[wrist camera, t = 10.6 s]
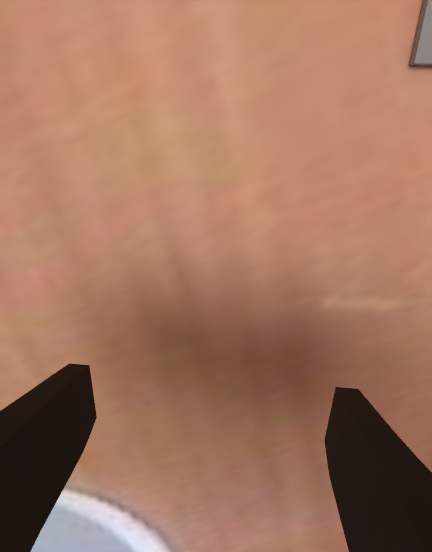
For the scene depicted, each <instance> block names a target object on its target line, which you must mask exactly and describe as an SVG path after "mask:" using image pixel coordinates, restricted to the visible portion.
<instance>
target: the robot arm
mask: <svg viewBox="0 0 432 552" xmlns="http://www.w3.org/2000/svg"><path fill="white" fill-rule="evenodd" d="M96 418H97V417H96V410H95V403H94V396H93V389H92V381H91V374H90V367H89V365H79V364H68V365H67V366H65V367H64V368H62V369H61V370H59V371H58V372H56V373H55V374H53V375H52V376H50V377H49V378H48V379H46V380H45V381H43V382H42V383H40V384H39V385H38V386H36V387H35V388H33V389H32V390H30V391H29V392H28V393H26V394H25V395H23V396H22V397H20V398H19V399H17V400H16V401H14V402H13V403H11V404H10V405H9V406H7V407H6V408H4V409H3V410H1V411H0V552H30V551H31V549H32V547H33V545H34V543H35V541H36V539H37V537H38V535H39V533H40V531H41V529H42V527H43V526H44V524H45V522H46V520H47V518H48V516H49V514H50V513H51V511H52V509H53V507H54V505H55V503H56V501H57V500H58V498H59V496H60V494H61V492H62V490H63V489H64V487H65V485H66V483H67V481H68V479H69V477H70V476H71V474H72V472H73V470H74V468H75V466H76V464H77V462H78V460H79V459H80V457H81V455H82V453H83V451H84V448H85V446H86V443H87V441H88V439H89V436H90V434H91V431H92V428H93V426H94V423H95V420H96ZM325 447H326V454H327V462H328V468H329V475H330V480H331V484H332V488H333V492H334V496H335V500H336V503H337V507H338V511H339V515H340V519H341V523H342V526H343V530H344V534H345V538H346V542H347V545H348V549H349V552H432V472H431V471H430V470H429V469H428V468H427V467H426V466H425V465H424V464H423V463H422V462H421V461H420V460H419V459H418V458H417V457H416V455H415V454H414V453H413V452H412V451H411V450H410V449H409V448H408V447H407V446H406V444H405V443H404V442H403V441H402V440H401V439H400V438H399V437H398V435H397V434H396V433H395V432H394V431H393V430H392V429H391V427H390V426H389V425H388V424H387V423H386V421H385V420H384V419H383V418H382V417H381V416H380V414H379V413H378V412H377V411H376V410H375V409H374V407H373V406H372V405H371V404H370V403H369V401H368V400H367V399H366V398H365V397H364V396H363V394H362V393H361V392H360V391H359V390H358V389H352V388H340V387H336V389H335V393H334V398H333V403H332V408H331V412H330V417H329V422H328V426H327V431H326V436H325Z"/></svg>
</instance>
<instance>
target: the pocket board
mask: <svg viewBox="0 0 432 552" xmlns="http://www.w3.org/2000/svg"><path fill="white" fill-rule="evenodd" d="M409 65H422V66H432V0H423V4H422V8H421V13H420V18H419V22H418V27H417V31H416V36H415V41H414V45H413V50H412V55H411V59H410V64H409Z"/></svg>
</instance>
